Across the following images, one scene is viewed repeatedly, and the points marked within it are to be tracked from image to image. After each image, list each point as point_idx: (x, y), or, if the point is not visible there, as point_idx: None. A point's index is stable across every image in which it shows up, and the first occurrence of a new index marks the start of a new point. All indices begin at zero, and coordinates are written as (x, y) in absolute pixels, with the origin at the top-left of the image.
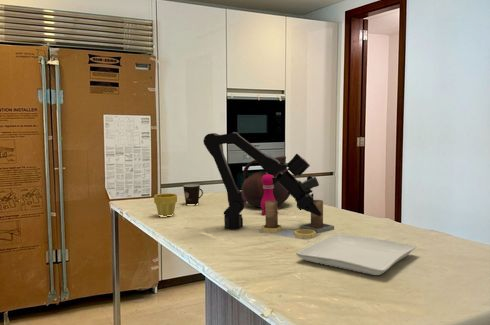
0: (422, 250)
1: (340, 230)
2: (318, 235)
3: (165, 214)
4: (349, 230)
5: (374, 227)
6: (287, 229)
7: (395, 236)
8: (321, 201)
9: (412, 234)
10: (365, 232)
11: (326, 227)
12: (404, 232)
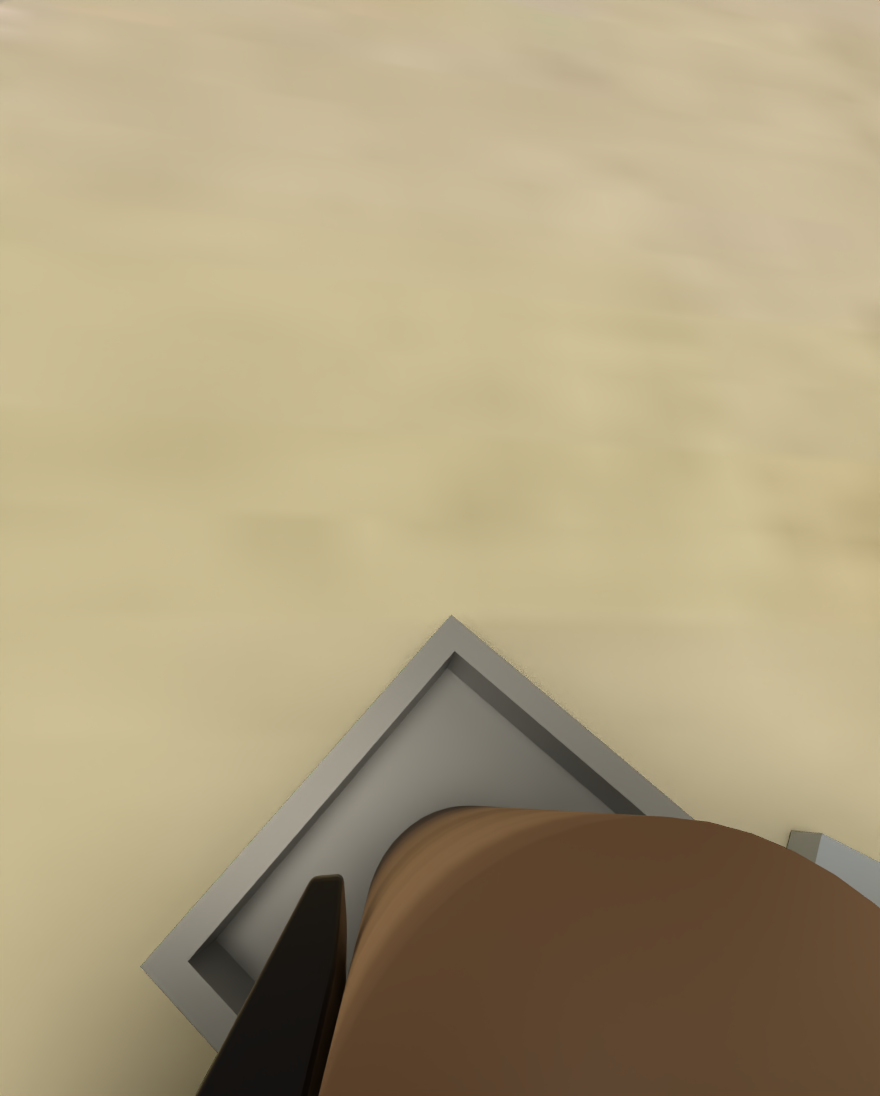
0: (867, 43)
1: (328, 556)
2: (877, 865)
3: None
4: (320, 450)
5: (166, 202)
6: None
7: (517, 108)
8: (814, 906)
9: (427, 3)
10: (401, 302)
11: (591, 740)
12: (365, 33)
